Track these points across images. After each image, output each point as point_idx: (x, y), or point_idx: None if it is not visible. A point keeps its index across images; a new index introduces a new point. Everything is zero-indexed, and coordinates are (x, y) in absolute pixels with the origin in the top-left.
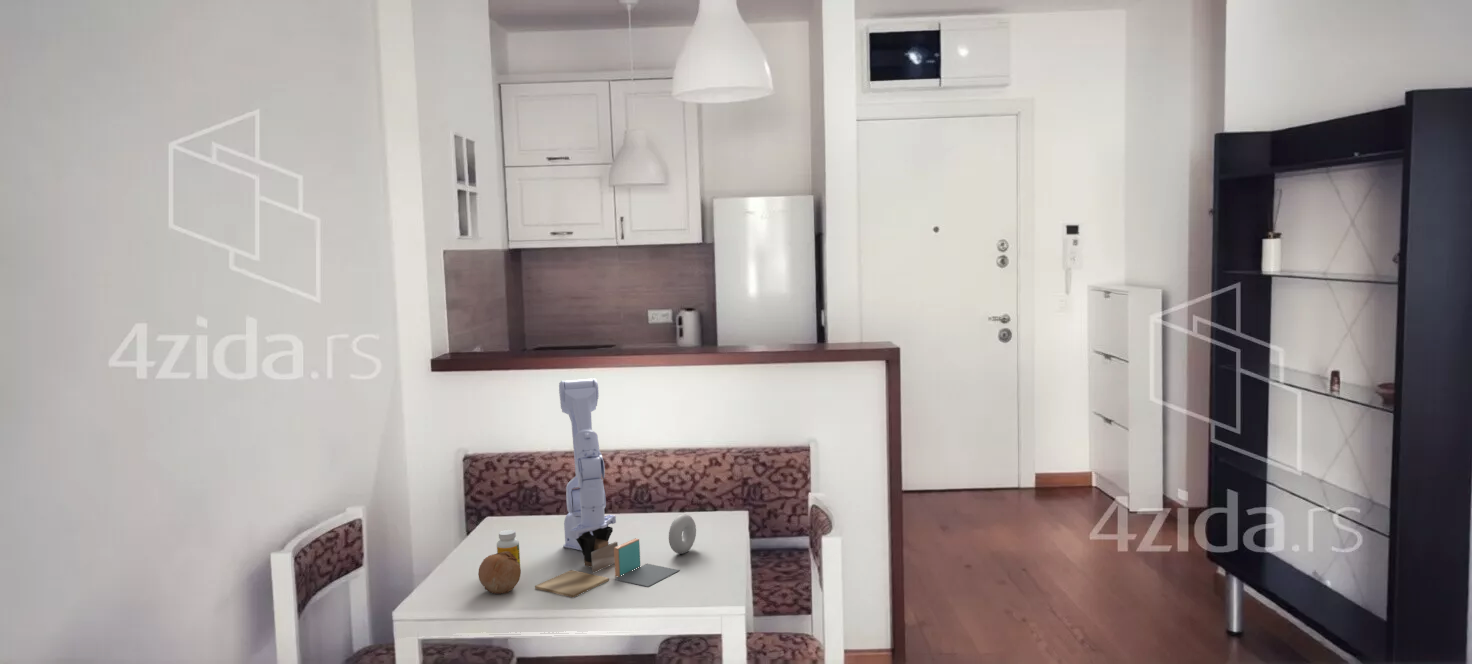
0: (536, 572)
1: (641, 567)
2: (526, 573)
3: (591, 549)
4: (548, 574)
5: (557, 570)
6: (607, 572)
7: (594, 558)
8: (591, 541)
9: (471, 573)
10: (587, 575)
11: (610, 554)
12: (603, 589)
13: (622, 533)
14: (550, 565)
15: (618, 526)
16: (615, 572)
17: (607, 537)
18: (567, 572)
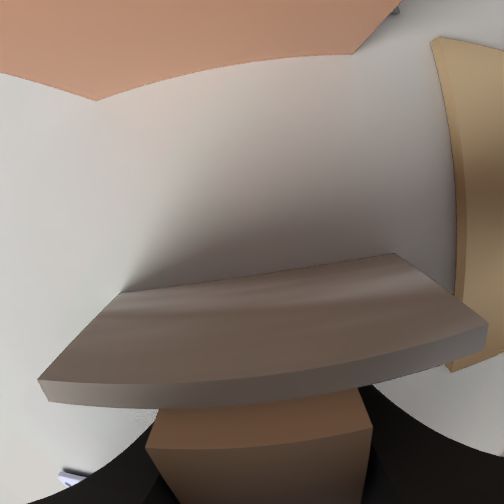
0: (473, 445)
1: None
2: (485, 451)
3: (406, 422)
4: (486, 405)
5: (438, 425)
6: (337, 165)
7: (434, 297)
8: (491, 469)
9: None
10: (489, 206)
11: (180, 321)
12: (499, 6)
13: (5, 467)
14: None
15: (9, 490)
16: (361, 40)
17: (114, 492)
18: (487, 349)
